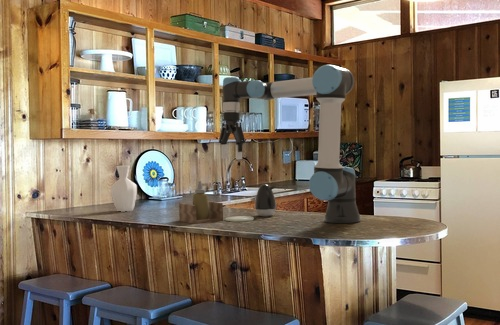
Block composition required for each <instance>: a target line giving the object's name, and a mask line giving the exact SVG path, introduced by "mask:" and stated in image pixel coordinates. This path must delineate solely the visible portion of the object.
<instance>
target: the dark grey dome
mask: <svg viewBox="0 0 500 325" xmlns="http://www.w3.org/2000/svg"><path fill="white" fill-rule="evenodd" d="M275 188H276V189H277V186H276V185H273V186H270V185H269V184H267V183H263V184H261V185H260V186H259V188H258V189H257V191H256V192H257V193H256V196H255V200H254V209H255V212H256V213H257V215H258V216H260V217H271V216H273V215H274V214H275V212H276V209H277V202H276V198H275V195H274V191H273V189H275Z"/></svg>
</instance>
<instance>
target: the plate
mask: <svg viewBox="0 0 500 325" xmlns="http://www.w3.org/2000/svg"><path fill="white" fill-rule="evenodd" d="M229 221H230V223H233V222H234V223H235V222H236V223H241V222H243V223H244V222H250V221H255V217H253V216H249V215H247V216H243V215H242V216H241V215H239V216H228V217H225V222H229Z"/></svg>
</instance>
